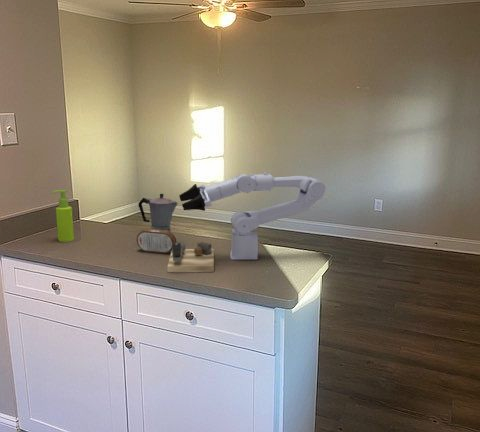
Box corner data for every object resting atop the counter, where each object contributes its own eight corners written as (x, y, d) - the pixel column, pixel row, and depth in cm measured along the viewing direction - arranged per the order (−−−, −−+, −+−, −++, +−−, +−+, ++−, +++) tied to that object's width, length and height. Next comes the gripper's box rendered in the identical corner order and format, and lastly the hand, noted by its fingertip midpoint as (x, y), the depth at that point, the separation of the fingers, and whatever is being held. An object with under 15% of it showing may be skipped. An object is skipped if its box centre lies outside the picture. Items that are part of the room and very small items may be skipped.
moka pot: (177, 248, 187) (176, 196, 182) (136, 247, 187) (134, 195, 182) (180, 241, 196) (179, 191, 191) (142, 240, 196) (140, 191, 192)
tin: (177, 252, 181) (176, 230, 179) (173, 255, 178) (173, 232, 176) (139, 249, 185) (139, 227, 183) (136, 251, 182) (135, 229, 180)
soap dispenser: (55, 239, 197) (51, 189, 193) (73, 237, 200) (69, 188, 196) (56, 242, 192) (52, 192, 188) (74, 240, 195) (71, 191, 190)
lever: (174, 249, 177) (173, 230, 176) (186, 249, 177) (186, 230, 176) (169, 265, 160) (169, 244, 158) (183, 265, 160) (183, 244, 158)
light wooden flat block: (172, 254, 179) (171, 239, 178) (213, 254, 180) (213, 239, 179) (167, 272, 161) (167, 256, 159) (213, 271, 162) (213, 255, 160)
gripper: (212, 173, 175) (175, 184, 174) (220, 188, 162) (181, 201, 161) (217, 190, 178) (181, 201, 177) (225, 207, 166) (186, 219, 164)
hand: (181, 202), depth 169 cm, fingers open, 7 cm apart
